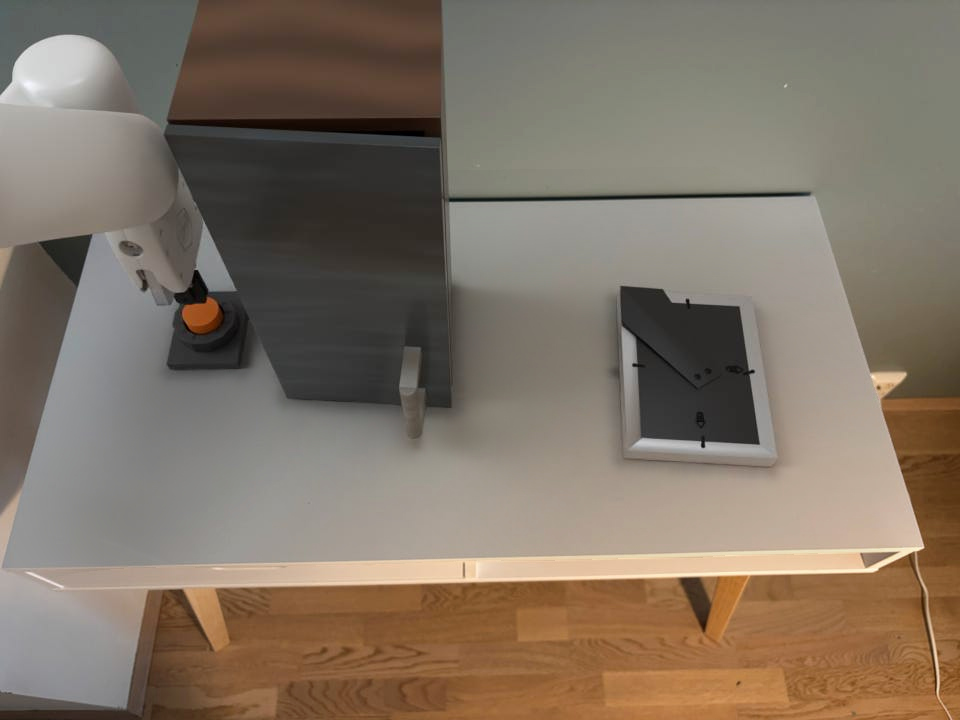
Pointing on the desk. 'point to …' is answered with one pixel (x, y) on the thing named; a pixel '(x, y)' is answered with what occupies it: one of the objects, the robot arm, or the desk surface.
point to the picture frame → (692, 379)
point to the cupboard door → (332, 256)
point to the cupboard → (319, 72)
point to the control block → (211, 337)
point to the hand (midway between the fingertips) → (193, 297)
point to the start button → (203, 316)
